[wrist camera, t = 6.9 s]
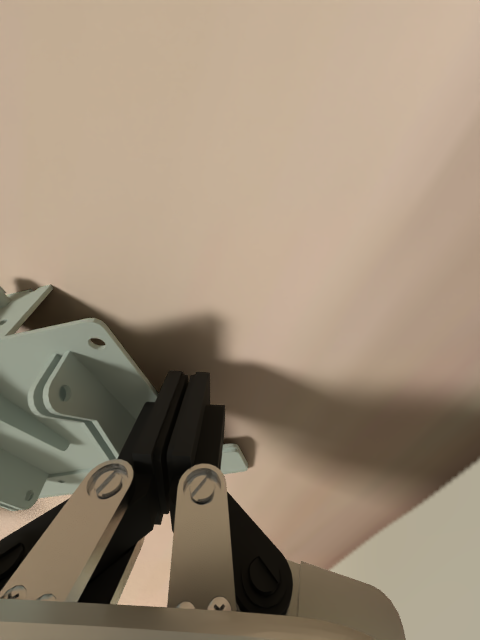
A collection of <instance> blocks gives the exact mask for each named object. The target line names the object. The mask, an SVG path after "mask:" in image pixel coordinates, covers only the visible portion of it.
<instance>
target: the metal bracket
mask: <svg viewBox="0 0 480 640" xmlns="http://www.w3.org/2000/svg"><path fill="white" fill-rule="evenodd" d="M52 290H53V287H52V286H51V285H47V286H42V287H38V289H37V290H35V291H32V289H30V290H26V291H21V292H17V293H13V294H9V295H5V293H6V292H5V291H4V290H3V289H2V288H1V287H0V507H1V508H4V509H7V510H10V511H18V510H26V509H29V508H31V507H32V506H33V505H34V504H35V503H36V501H37V499H38V498H45V497H53V496H61V495H68V494H73V493H74V492H75V490H76V489H77V488H78V486H79V485H80V483H81V482H82V481H83V479H84V478H85V477H86V475H87V474H88V473H89V472H90V471H91V470H92V469H93V468H95V467H96V466H98V465H99V464H101V463H103V462H105V461H108V460H113V459H117V458H118V456H119V454H120V452H121V450H122V448H123V446H124V444H125V442H126V440H127V438H128V436H129V434H130V432H131V430H132V428H133V426H134V424H135V422H136V420H137V418H138V416H139V414H140V412H141V410H142V408H143V406H144V404H145V403H146V402H155V401H156V399H157V397H158V392H157V391H156V390H155V388H154V387H153V386H152V384H151V383H150V382H149V381H148V379H147V378H146V377H145V375H144V374H143V373H142V371H141V370H140V369H139V367H138V366H137V365H136V363H135V362H134V361H133V359H132V358H131V357H130V355H129V354H128V353H127V352H126V350H125V349H124V348H123V346H122V345H121V344H120V342H119V341H118V340H117V338H116V337H115V336H114V334H113V333H112V332H111V330H110V329H109V328H108V327H107V325H106V324H105V323H104V322H102V321H101V320H99V319H96V318H86V319H82V320H77V321H73V322H68V323H63V324H59V325H54V326H49V327H45V328H40V329H35V330H31V331H26V332H22V333H17V334H14V333H15V332H16V331H17V330H18V329H19V328H20V327H21V325H22V324H23V323H24V322H25V321H26V320H27V318H28V317H29V316H30V315H31V314H32V313H33V311H34V310H35V309H36V308H37V307H38V306H39V305H40V303H41V302H42V301H43V300H44V299H45V298H46V296H47V295H48V294H49V293H50V292H51V291H52ZM91 338H98V339H101V340H102V341H103V342H105V344H106V345H104V346H99V345H96V344H94V343H93V342H91V340H90V339H91ZM247 468H248V463H247V461H246V459H245V457H244V456H243V454H242V452H241V450H240V448H239V446H238V445H237V444H224V445H223V450H222V460H221V472H222V473H223V474H229V473H237V472H243V471H246V470H247Z"/></svg>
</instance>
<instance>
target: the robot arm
mask: <svg viewBox="0 0 480 640" xmlns="http://www.w3.org/2000/svg"><path fill="white" fill-rule="evenodd" d="M224 425H225V405H210V373H208V372H196V374H195V375H191V376H190V380H189V383H188V375H184V373H183V371H169V372H168V374H167V376H166V379H165V381H164V383H163V385H162V388H161V390H160V392H159V394H158V397H157V399H156V401H155V402H146V403H145V404H144V406H143V408H142V410H141V412H140V414H139V416H138V418H137V420H136V422H135V424H134V426H133V428H132V430H131V432H130V434H129V436H128V438H127V440H126V442H125V444H124V446H123V448H122V450H121V452H120V454H119V456H118V458H117V459H113V460H108V461H105V462H103V463H101V464H99V465H98V466H96V467H95V468H93V469H92V470H91V471H90V472H89V473H88V474H87V475H86V477H85V478H84V479H83V481H82V482H81V483H80V485H79V486H78V488H77V489H76V490H75V492H74V493H73V494H72V496H71V497H70V498H69V499H68V500H66V501H64V502H63V503H61V504H59V505H58V506H56V507H54V508H53V509H51V510H49V511H48V512H46V513H44V514H43V515H41V516H40V517H38V518H36V519H35V520H33V521H31V522H30V523H28V524H26V525H25V526H23V527H21V528H20V529H18V530H17V531H15V532H13V533H12V534H10V535H8V536H7V537H5V538H3V539H2V540H1V541H0V640H406V639H405V634H404V629H403V625H402V622H401V619H400V616H399V614H398V612H397V610H396V608H395V607H394V605H393V604H392V602H391V600H390V599H389V598H387V596H386V595H385V594H384V593H383V592H381V591H380V590H379V589H377V588H375V587H374V586H372V585H369V584H366V583H363V582H361V581H358V580H355V579H352V578H349V577H346V576H343V575H340V574H337V573H335V572H332V571H329V570H326V569H323V568H320V567H317V566H314V565H311V564H308V563H306V562H303V561H301V563H300V564H298V563H295V562H292V561H289V560H287V559H285V557H284V556H283V554H282V553H281V552H280V551H279V550H278V549H277V547H276V546H275V545H274V544H273V543H272V542H271V541H270V539H269V538H268V537H267V536H266V535H265V534H264V533H263V532H262V530H261V529H260V528H259V527H258V526H257V525H256V524H255V522H254V521H253V520H252V519H251V518H250V517H249V516H248V515H247V513H246V512H245V511H244V510H243V509H242V508H241V507H240V505H239V504H238V503H237V502H236V501H235V500H234V499H233V498H232V496H231V495H230V494H229V493H228V492H227V487H226V480H225V476H224V475H223V473H222V472H221V460H222V450H223V439H224ZM169 511H170V515H171V524H172V531H173V533H174V535H173V546H172V558H171V569H170V581H169V592H168V604H167V607H150V606H132V605H117V603H118V601H119V599H120V596H121V594H122V592H123V589H124V587H125V585H126V582H127V580H128V578H129V575H130V573H131V571H132V568H133V566H134V564H135V561H136V559H137V557H138V554H139V552H140V550H141V547H142V545H143V541H144V538H145V536H146V535H147V534H148V533H149V532H150V531H152V530H153V527H154V524H157V525H161V521H162V518H163V514H168V513H169Z"/></svg>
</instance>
